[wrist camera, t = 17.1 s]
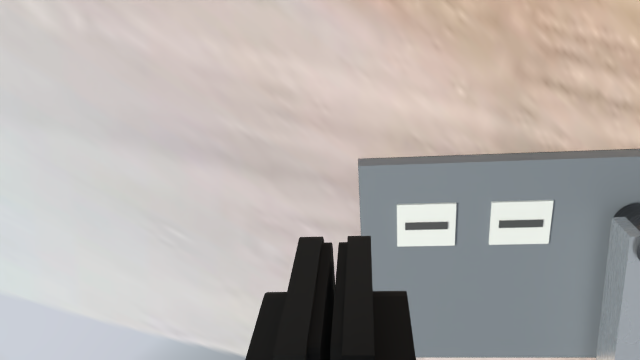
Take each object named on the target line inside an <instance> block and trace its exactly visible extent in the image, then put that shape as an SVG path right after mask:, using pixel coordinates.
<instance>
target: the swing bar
mask: <svg viewBox="0 0 640 360" xmlns="http://www.w3.org/2000/svg"><path fill="white" fill-rule="evenodd" d="M596 360H640V203H633V204H629V205H626V206H624V207H623V208H621V209H620V210H619V211H618V212H617V213H616V214H615V215H614V217H612V221H611V230H610V239H609V248H608V256H607V265H606V274H605V283H604V292H603V300H602V309H601V318H600V327H599V336H598V344H597V353H596Z"/></svg>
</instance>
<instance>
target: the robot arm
mask: <svg viewBox="0 0 640 360" xmlns="http://www.w3.org/2000/svg"><path fill="white" fill-rule="evenodd" d="M246 360H416V356H415V349H414V341H413V334H412V326H411V319H410V311H409V304H408V296H407V292H406V291H373V286H372V255H371V236H348V242H339V248H338V260H337V272H336V284H335V276H334V261H333V246H332V243H324V239H323V237H300V238H299V242H298V246H297V251H296V255H295V260H294V264H293V269H292V273H291V278H290V282H289V286H288V291H287V292H267V293H265V295H264V298H263V301H262V305H261V308H260V311H259V315H258V318H257V322H256V325H255V329H254V332H253V336H252V339H251V342H250V346H249V349H248V353H247V356H246Z"/></svg>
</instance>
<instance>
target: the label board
mask: <svg viewBox="0 0 640 360" xmlns="http://www.w3.org/2000/svg"><path fill="white" fill-rule="evenodd" d="M358 171H359V196H360V221H361V236H371V255H372V286H373V291H406V292H407V296H408V304H409V311H410V319H411V326H412V334H413V341H414V349H415V356H416V357H596V353H597V344H598V336H599V327H600V318H601V309H602V300H603V292H604V283H605V274H606V265H607V256H608V248H609V239H610V230H611V221H612V217H614V215H615V214H616V213H617V212H618V211H619V210H620V209H621V208H623V207H624V206H626V205H629V204H633V203H640V149H624V150H596V151H568V152H540V153H512V154H483V155H455V156H427V157H399V158H371V159H358Z"/></svg>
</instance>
